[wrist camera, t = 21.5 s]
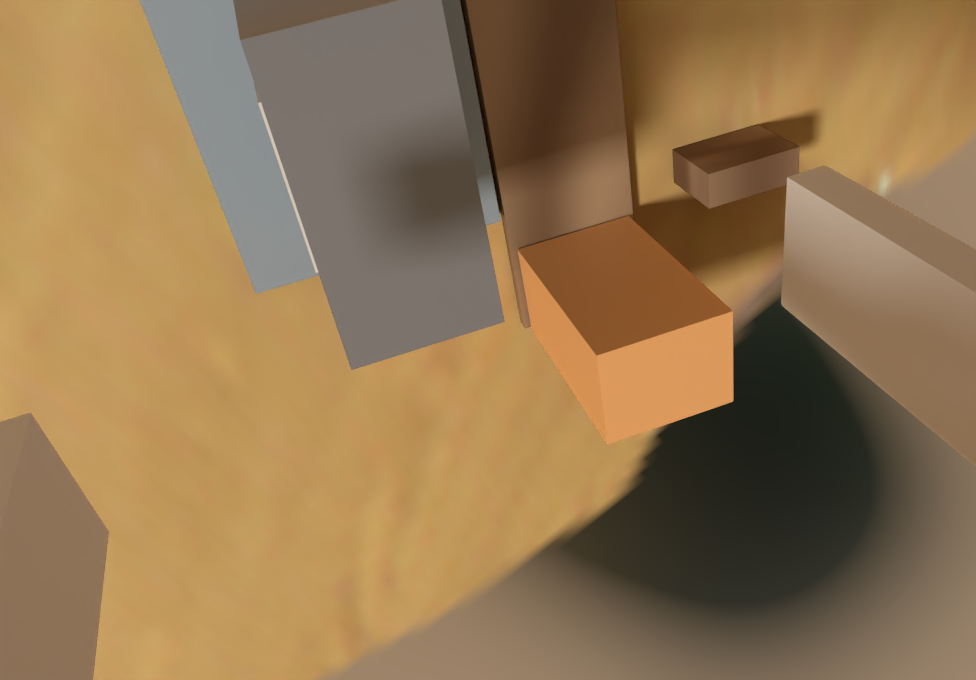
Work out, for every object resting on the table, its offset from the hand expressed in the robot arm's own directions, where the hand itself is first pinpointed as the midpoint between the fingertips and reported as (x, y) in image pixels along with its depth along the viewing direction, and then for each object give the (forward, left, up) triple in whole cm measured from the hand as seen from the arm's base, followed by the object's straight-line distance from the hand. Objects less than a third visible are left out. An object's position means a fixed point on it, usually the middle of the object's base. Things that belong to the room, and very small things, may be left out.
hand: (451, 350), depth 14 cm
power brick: (0, 0, -18) cm, 18 cm away
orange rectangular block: (+8, -10, -18) cm, 23 cm away
